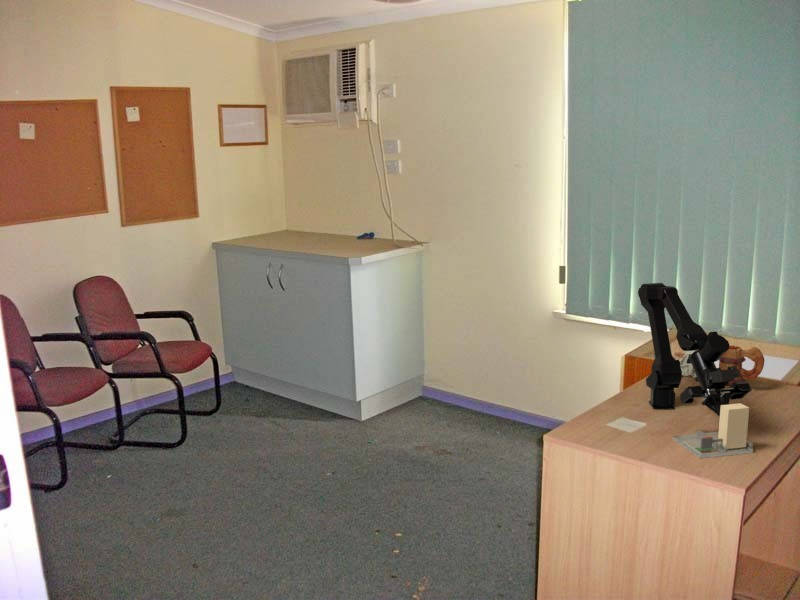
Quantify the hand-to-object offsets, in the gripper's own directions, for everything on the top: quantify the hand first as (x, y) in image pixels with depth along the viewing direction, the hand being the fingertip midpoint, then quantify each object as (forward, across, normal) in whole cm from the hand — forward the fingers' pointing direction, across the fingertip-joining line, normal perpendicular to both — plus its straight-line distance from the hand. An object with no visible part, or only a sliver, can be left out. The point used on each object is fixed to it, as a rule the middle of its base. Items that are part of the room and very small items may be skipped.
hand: (727, 421), depth 200 cm
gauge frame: (+4, -3, +6) cm, 8 cm away
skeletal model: (-35, +25, +45) cm, 62 cm away
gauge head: (+6, -2, +3) cm, 7 cm away
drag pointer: (+6, -8, +2) cm, 10 cm away
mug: (-24, +32, +34) cm, 52 cm away
